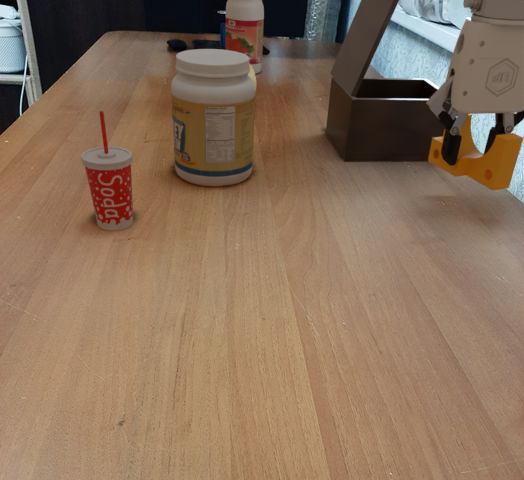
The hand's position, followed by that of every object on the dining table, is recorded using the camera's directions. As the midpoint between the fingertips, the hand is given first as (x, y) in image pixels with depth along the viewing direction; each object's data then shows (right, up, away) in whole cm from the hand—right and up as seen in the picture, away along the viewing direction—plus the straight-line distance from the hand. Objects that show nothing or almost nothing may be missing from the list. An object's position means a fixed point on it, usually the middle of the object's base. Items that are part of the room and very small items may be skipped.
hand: (469, 160), depth 77 cm
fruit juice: (-33, +47, +71) cm, 91 cm away
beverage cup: (-47, -9, -2) cm, 48 cm away
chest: (-6, +11, +27) cm, 30 cm away
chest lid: (-11, +26, +15) cm, 32 cm away
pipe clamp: (0, -2, +1) cm, 2 cm away
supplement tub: (-36, +2, +13) cm, 38 cm away
